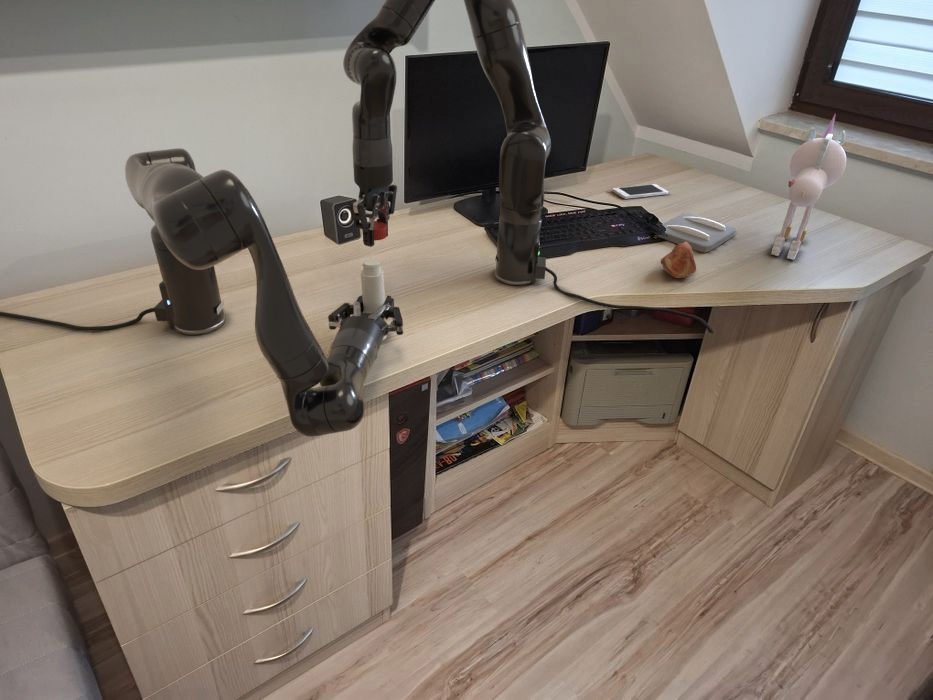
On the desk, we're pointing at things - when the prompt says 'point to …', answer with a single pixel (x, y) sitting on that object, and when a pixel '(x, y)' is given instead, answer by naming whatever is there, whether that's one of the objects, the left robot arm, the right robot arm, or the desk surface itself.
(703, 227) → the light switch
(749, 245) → the desk surface
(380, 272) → the jar
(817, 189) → the toy
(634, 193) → the smartphone
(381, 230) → the lid
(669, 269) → the fossil
